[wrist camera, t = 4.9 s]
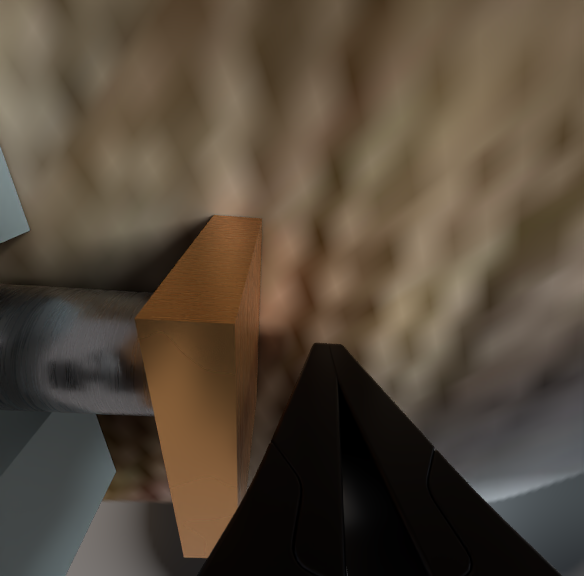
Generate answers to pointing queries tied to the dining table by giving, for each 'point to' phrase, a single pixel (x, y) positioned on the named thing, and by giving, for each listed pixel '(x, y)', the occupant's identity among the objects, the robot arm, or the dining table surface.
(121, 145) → the dining table surface
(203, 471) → the pin
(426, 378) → the dining table surface
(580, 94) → the dining table surface
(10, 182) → the block
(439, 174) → the dining table surface
